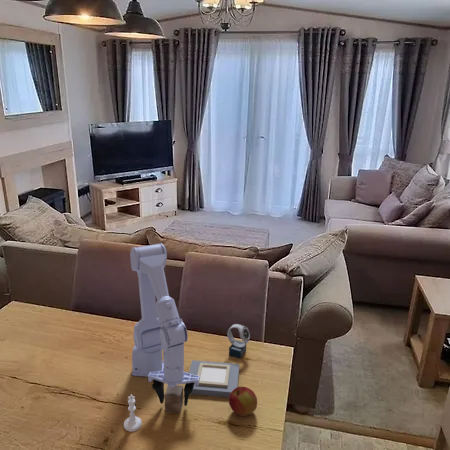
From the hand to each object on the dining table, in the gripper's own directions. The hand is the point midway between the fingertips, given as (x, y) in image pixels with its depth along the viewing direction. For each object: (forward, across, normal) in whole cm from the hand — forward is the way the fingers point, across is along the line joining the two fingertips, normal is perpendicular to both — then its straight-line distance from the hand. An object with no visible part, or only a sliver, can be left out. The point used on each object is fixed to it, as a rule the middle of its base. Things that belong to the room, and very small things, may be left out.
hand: (174, 402), depth 121 cm
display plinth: (+2, +10, +13) cm, 16 cm away
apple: (+2, +20, 0) cm, 20 cm away
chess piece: (+2, -10, -8) cm, 13 cm away
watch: (+2, +17, +29) cm, 34 cm away
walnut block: (+2, 0, 0) cm, 2 cm away
